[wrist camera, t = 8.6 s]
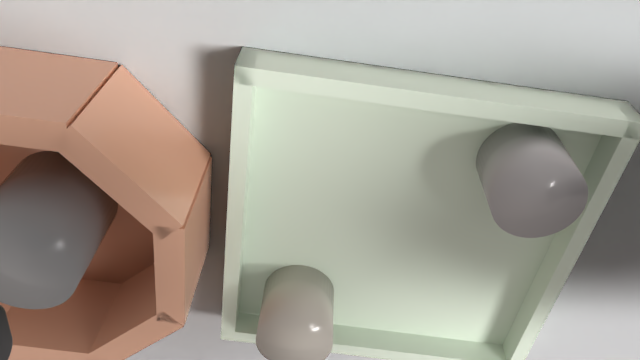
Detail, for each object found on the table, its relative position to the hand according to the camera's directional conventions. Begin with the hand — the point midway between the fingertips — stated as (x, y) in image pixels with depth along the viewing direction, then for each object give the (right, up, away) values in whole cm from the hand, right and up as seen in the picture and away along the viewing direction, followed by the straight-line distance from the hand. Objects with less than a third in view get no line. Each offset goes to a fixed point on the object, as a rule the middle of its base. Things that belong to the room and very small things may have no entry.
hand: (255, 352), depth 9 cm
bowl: (-9, +3, +13) cm, 16 cm away
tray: (+4, +1, +14) cm, 14 cm away
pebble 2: (+8, +4, +11) cm, 14 cm away
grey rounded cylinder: (-9, +2, +13) cm, 16 cm away
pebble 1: (0, -2, +15) cm, 15 cm away
